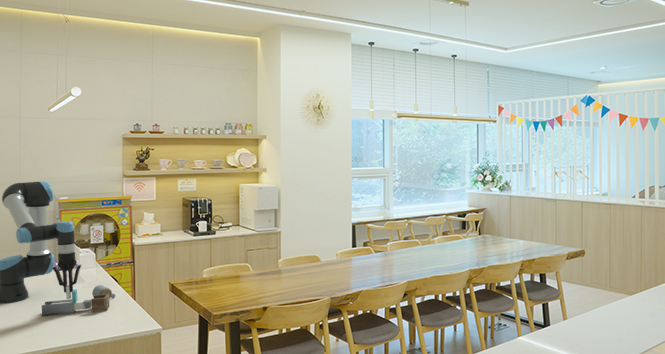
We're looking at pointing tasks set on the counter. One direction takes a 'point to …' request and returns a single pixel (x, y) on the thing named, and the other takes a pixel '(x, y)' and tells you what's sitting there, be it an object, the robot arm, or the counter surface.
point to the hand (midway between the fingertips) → (68, 298)
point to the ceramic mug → (102, 291)
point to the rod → (78, 302)
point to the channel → (58, 308)
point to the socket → (100, 303)
